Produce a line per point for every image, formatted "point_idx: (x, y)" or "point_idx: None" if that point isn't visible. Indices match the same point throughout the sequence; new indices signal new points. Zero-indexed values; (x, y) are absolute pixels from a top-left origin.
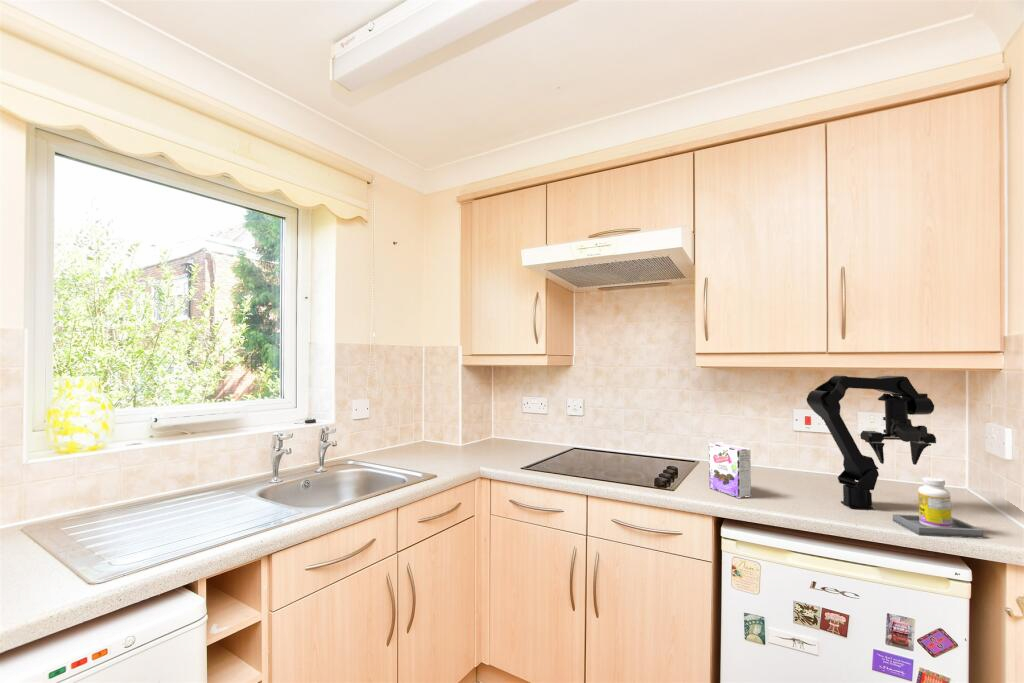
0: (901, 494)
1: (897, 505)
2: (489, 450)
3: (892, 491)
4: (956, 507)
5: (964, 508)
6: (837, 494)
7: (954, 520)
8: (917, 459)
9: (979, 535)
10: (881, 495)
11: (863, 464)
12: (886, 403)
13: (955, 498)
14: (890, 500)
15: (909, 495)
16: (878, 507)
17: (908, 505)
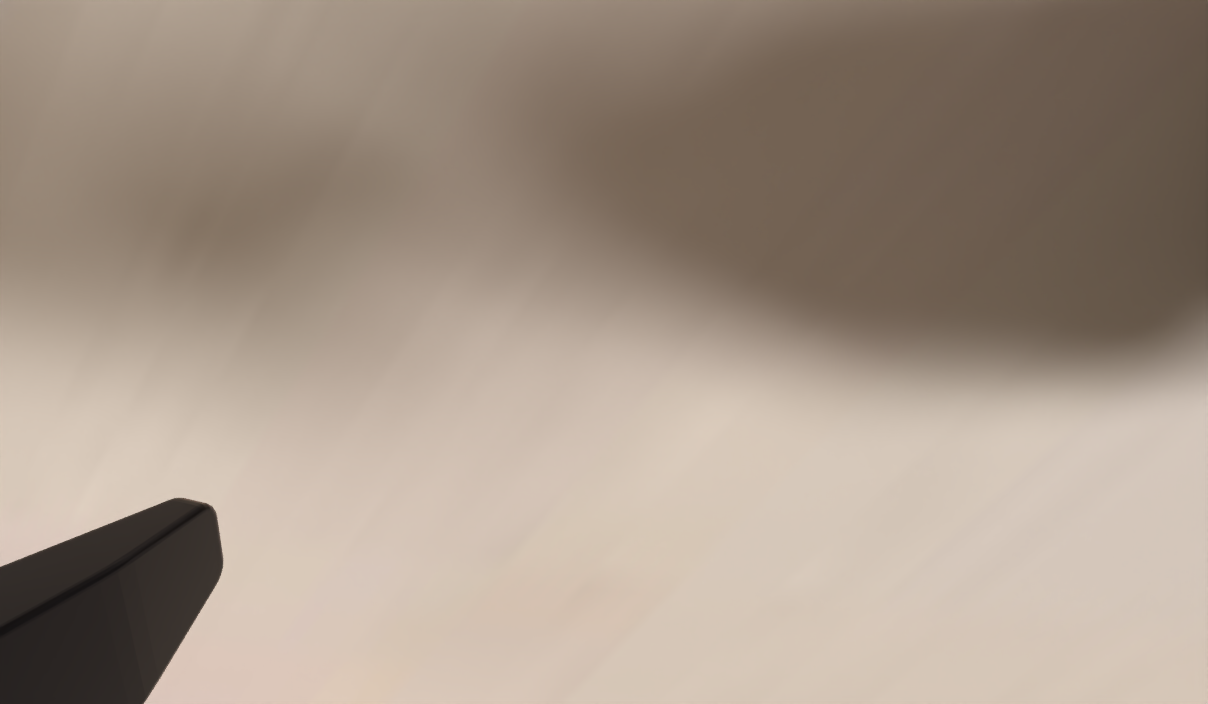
0: (418, 593)
1: (765, 225)
2: None
3: (442, 679)
4: (129, 154)
5: (68, 118)
6: (1188, 678)
7: None
8: (41, 565)
9: None
10: (652, 588)
11: None
12: None
13: (9, 443)
14: (691, 421)
15: (361, 558)
16: (1147, 126)
17: (618, 226)
